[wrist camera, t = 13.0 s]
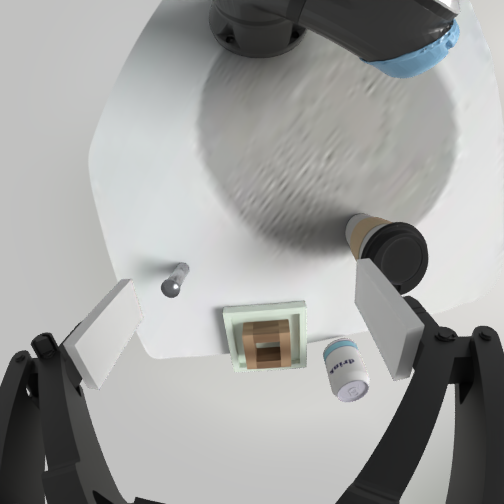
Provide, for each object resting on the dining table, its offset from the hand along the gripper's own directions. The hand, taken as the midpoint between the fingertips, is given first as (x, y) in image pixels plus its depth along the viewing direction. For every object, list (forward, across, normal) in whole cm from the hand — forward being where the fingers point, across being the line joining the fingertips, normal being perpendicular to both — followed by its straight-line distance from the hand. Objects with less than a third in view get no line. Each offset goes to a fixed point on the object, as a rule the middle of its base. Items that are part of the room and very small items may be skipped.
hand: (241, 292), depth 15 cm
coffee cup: (+29, +17, -6) cm, 34 cm away
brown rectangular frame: (+28, 0, -25) cm, 37 cm away
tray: (+28, 0, -25) cm, 38 cm away
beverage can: (+28, +13, -30) cm, 44 cm away
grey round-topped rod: (+28, -13, -10) cm, 33 cm away
